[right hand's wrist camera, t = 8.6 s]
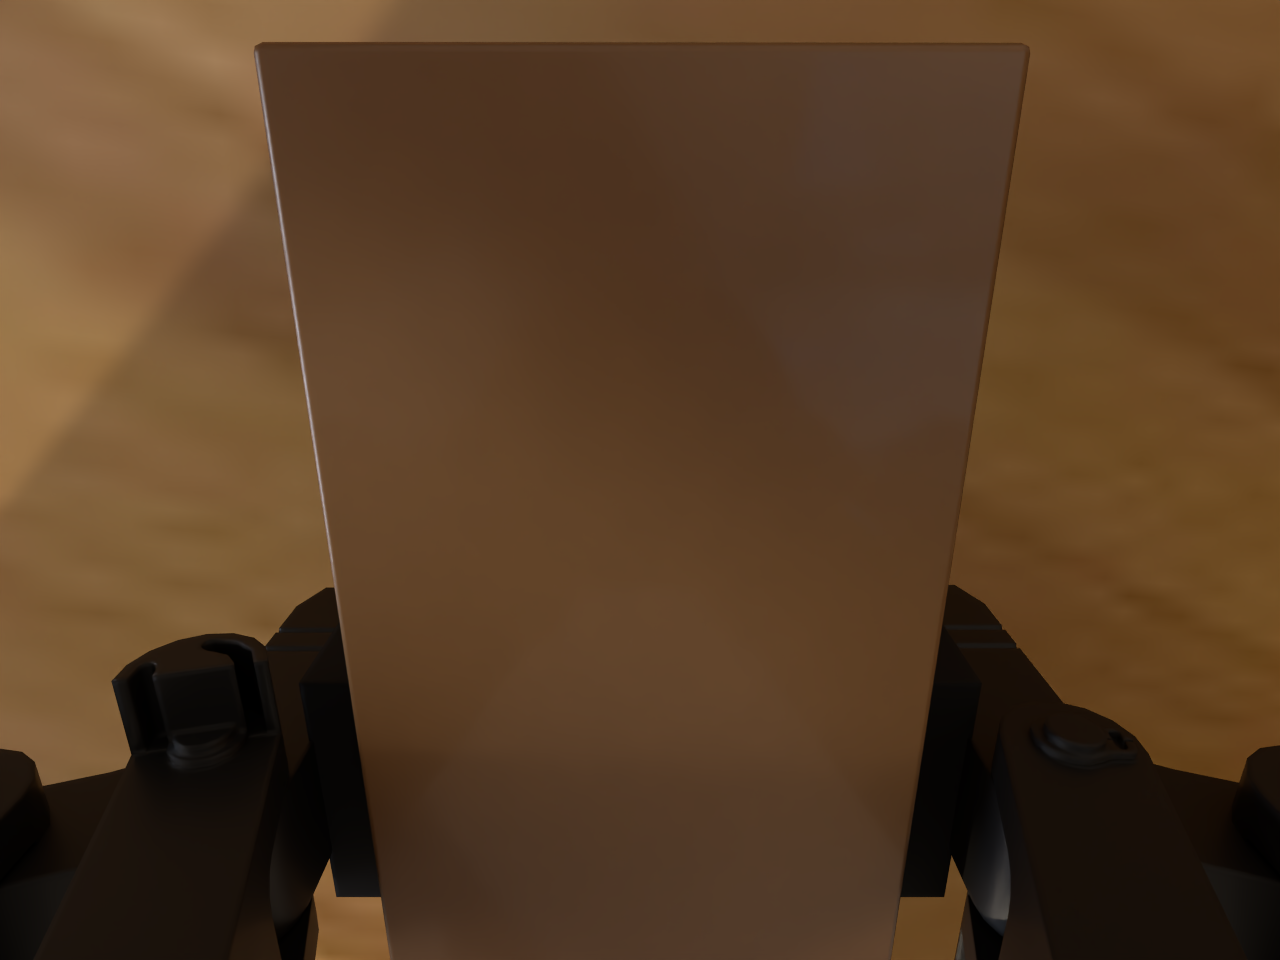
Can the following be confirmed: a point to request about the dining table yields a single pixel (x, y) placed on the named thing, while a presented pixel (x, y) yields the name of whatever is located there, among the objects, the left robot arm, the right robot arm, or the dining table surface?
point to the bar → (641, 467)
